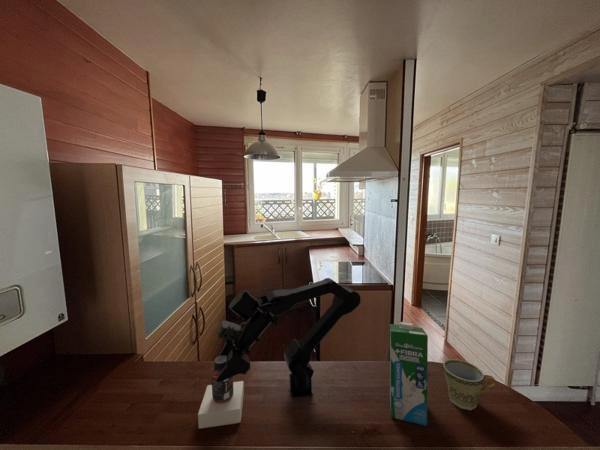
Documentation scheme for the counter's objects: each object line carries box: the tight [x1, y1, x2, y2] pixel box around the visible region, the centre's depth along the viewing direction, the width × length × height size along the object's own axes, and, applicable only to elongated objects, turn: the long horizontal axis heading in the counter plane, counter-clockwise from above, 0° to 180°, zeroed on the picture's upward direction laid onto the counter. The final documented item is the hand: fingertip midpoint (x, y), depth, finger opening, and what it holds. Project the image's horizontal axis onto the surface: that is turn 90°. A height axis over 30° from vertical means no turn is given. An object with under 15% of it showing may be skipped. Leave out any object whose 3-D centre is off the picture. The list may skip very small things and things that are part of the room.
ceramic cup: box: [442, 358, 497, 411], centre depth 71 cm, size 13×10×10 cm
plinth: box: [197, 380, 245, 429], centre depth 71 cm, size 11×11×4 cm
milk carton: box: [389, 321, 429, 427], centre depth 69 cm, size 9×9×25 cm
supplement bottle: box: [210, 355, 234, 403], centre depth 70 cm, size 6×6×11 cm
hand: (217, 370), depth 70 cm, fingers open, 9 cm apart
